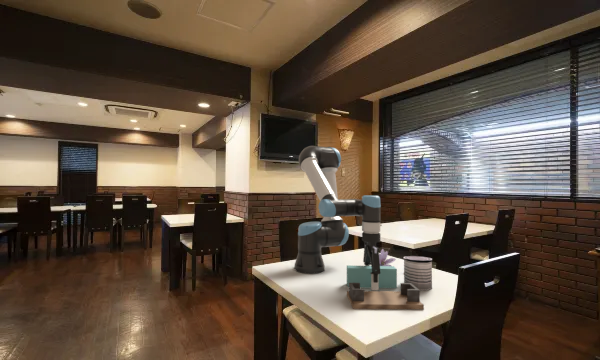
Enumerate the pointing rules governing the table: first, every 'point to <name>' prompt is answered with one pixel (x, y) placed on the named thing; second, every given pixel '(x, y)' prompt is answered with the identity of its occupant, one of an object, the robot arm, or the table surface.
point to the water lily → (383, 259)
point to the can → (418, 272)
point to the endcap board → (385, 298)
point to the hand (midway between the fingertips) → (371, 285)
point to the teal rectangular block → (364, 277)
